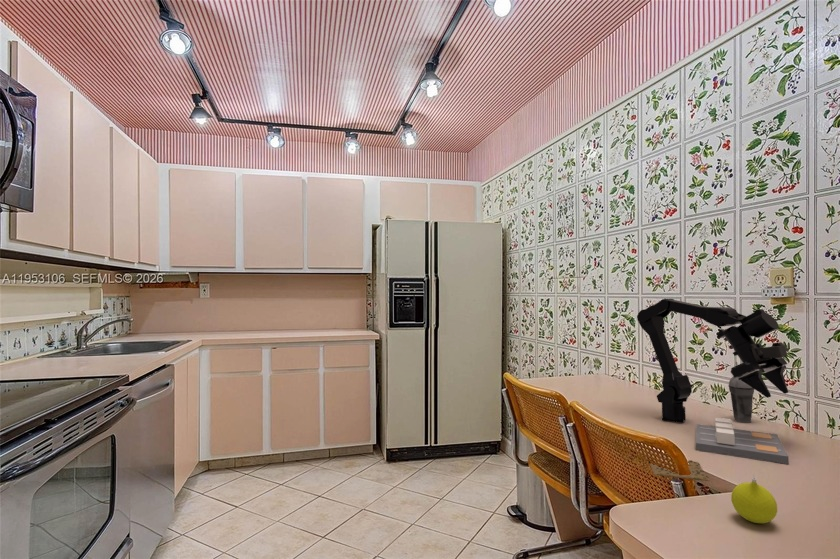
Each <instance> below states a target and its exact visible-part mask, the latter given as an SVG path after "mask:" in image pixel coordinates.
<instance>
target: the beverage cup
mask: <svg viewBox="0 0 840 559" xmlns="http://www.w3.org/2000/svg"><path fill="white" fill-rule="evenodd" d="M737 365H739V364H738V361H735V366H737ZM741 377H742V375H741ZM741 377H737V378H734V377H733V376H731V378H730V379H729V382H728V389H729V390H728V391H729V392H730V398H731V404H732V412H733V418H734V421H735V422H738V423H742V424H750V423H752V419H753V418H752V416H753V402H754V401H753V398H754V393H755V389H754V388H752V387H751V386H749V385H748V384H746V383H744V382H743V381H741V380H739V379H738V378H741Z"/></svg>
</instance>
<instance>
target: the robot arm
mask: <svg viewBox="0 0 840 559" xmlns="http://www.w3.org/2000/svg"><path fill="white" fill-rule="evenodd" d="M671 312H674V313H678V314H681V315H687V316H690V317H695V318H699V319H701V320H704V321H705V322H706V323H708V324H710V325H713V326H715V327H721V328H722V327H727V328H726V329H724V328H722V329H721V328H720V329H718V333H717V335H716V338H717V339H724V338H725V339H726V340H727V341H728V343H729V345H730V346H731V347H732V348H733V349H732V350H733V351H734V352H732V354H733V356H734V357H735V356H736V357H738V358H739V359H740V361H741V363H739V364H738V365H737V366H736V365H735V366H733V367H731V368H730V374H731V376H732V377H734V378H737V377H741V375H742V377H741V378H738V379H739V380H741V381H743V382H744V383H746V384H748V385H749V386H751V387H752V388H754V391H756V392H758V393H760V394H761V395H763V396H764V397H765V398H771V397H772V395H771V392H770V390H769V388H768V387H767V385H766V382H765V381H764V379H763V377H765V379H766V380H768V381H769V382H770V383H771V384H773V386H774V387H775V388H776V389H778V390H779V391H780V392H782V393H783V394H785V395H786V394H788V393H789V389H788V387H787V382H786V381H785V376H784V371H785V369H786V368H787V365H788V362H787V361H786V359H785V358H787V357H789V356H788V352H789V348H788V347H787V345H785V344H783V342H782V341H780V342H779V341H778V342H773V343H772V345H771V346H763V345H762V343H760V342H759V343H756V342H755V340H754V339H753V337H754V338H756V339H759V338H761V337H764V336H765V335H768V334H770V333H772V332H774V331H776V330H778V329H779V327H780V326H779V323H778V322H777V319H776V318H775V317H773V316H772V315H770V313H769V312H766V311H765V310H764V309H762V308H760V309H759V308H758V309H757V310H755V311H753V312H752V313H751V314H749V315H747V316H746V315H744V314H741V313H739V312H738V310H737V309H736V308H733V307H729V306H728V307H724V306H722V307H721V306H704V305H700V304H696V303H692V302H686V301H681V300H677V299H674V298H663V299H661V300H659V301H658V302H656V303H655V304H652V305H650V306H649V307H647V308H645V309H641V310H639V311H638V314H637V315H636V320H637V322H638V323H639V325H640V327H641V329H642V330H643V331H644V332H645V333H646V334H647V335H648V336H649V339H650V342H651V345H652V347H653V350H654V353H655V356H656V358H657V361H658V363H659V364H658V365H659V366H660V369H661V371H662V372H661V373H662V379H661V380H662V381H661V383H662V390H661V391H660V393H658V394H657V395H656V398H657V399H656V400H657V401H658V403H660V404H661V415H662V416H661V421H662V422H671V423H678V424H679V423H680V424H684V423H685V421H686V417H687V416H686V415H687V414H686V406H684V403H686V402H687V401H688V398H689V397H690V396H691V394H692V392H693V390H692V388H693V385H692V384H691V382H690V377H689V376H688V375H687V374H684V375H683V374H682V373H681V372H680V371H679V368H678V366H677V364H676V361H675V358H674V356H673V353H672V350H671V347H670V345H669V342H668V340H667V337H666V334H665V332H664V330H665V319H664V318H666V317H667V316H669V314H671ZM735 325H738V326H735ZM784 357H785V358H784ZM762 376H763V377H762Z"/></svg>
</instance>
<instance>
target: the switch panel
mask: <svg viewBox="0 0 840 559" xmlns="http://www.w3.org/2000/svg"><path fill="white" fill-rule="evenodd" d="M695 428H696V429H695V450H696V451H699V450H700V451H701V452H705V451H706V452H705V453H712V454H720V455H725V456H733V457H739V458H745V459H752V460H758V461H765V462H770V463H771V462H772V463H778V464H782V465H783V464H784V465H790V461H789V460H790V458H789V455H788V453H787V451H786V449H785V447H784V445H783V443H782V441H781V439H780V437H779V435H778V434H777V433H768V432H761V431H754V430H746V429H739V428H738V429H736V428H733V430H734V439H735V445H729V444H722V443H717V437H716V425H715V426H713V425H709V424H708V425H707V424H699V423H696V425H695Z"/></svg>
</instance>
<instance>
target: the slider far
mask: <svg viewBox="0 0 840 559" xmlns="http://www.w3.org/2000/svg"><path fill="white" fill-rule="evenodd" d="M714 419H715V420H714V421H715V423H714V424H715V426H716V423H724V424H732V425H733V422H732V418H731V419H730V418H723V417H714Z"/></svg>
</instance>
